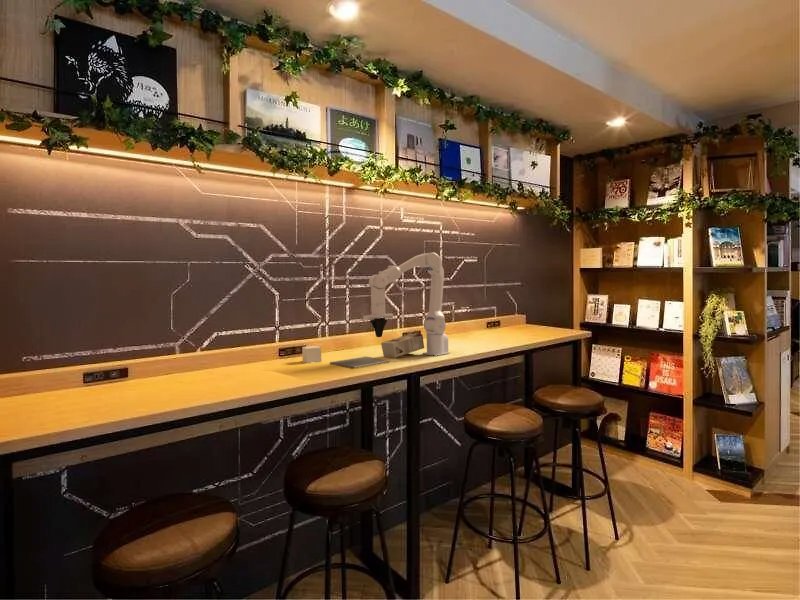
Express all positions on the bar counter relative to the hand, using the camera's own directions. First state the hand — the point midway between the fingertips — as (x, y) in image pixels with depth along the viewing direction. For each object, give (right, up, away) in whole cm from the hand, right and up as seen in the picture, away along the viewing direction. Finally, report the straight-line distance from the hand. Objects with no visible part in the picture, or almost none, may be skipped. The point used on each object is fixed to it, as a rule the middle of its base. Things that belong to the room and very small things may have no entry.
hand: (379, 336), depth 189 cm
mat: (-7, -10, -6) cm, 14 cm away
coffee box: (+3, -6, +4) cm, 8 cm away
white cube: (-27, -10, -1) cm, 29 cm away
